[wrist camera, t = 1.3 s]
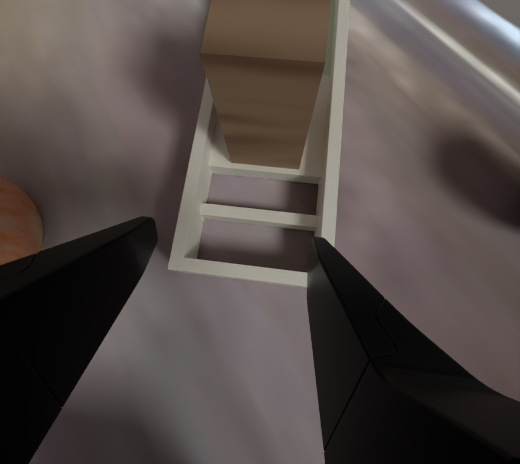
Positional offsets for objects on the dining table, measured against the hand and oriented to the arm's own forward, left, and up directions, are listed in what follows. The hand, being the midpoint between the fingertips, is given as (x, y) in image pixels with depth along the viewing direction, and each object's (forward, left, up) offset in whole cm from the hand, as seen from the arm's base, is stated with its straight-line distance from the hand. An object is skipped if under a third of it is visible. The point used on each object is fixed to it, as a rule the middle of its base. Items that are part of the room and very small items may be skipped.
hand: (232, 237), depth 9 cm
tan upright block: (+8, +10, -12) cm, 18 cm away
